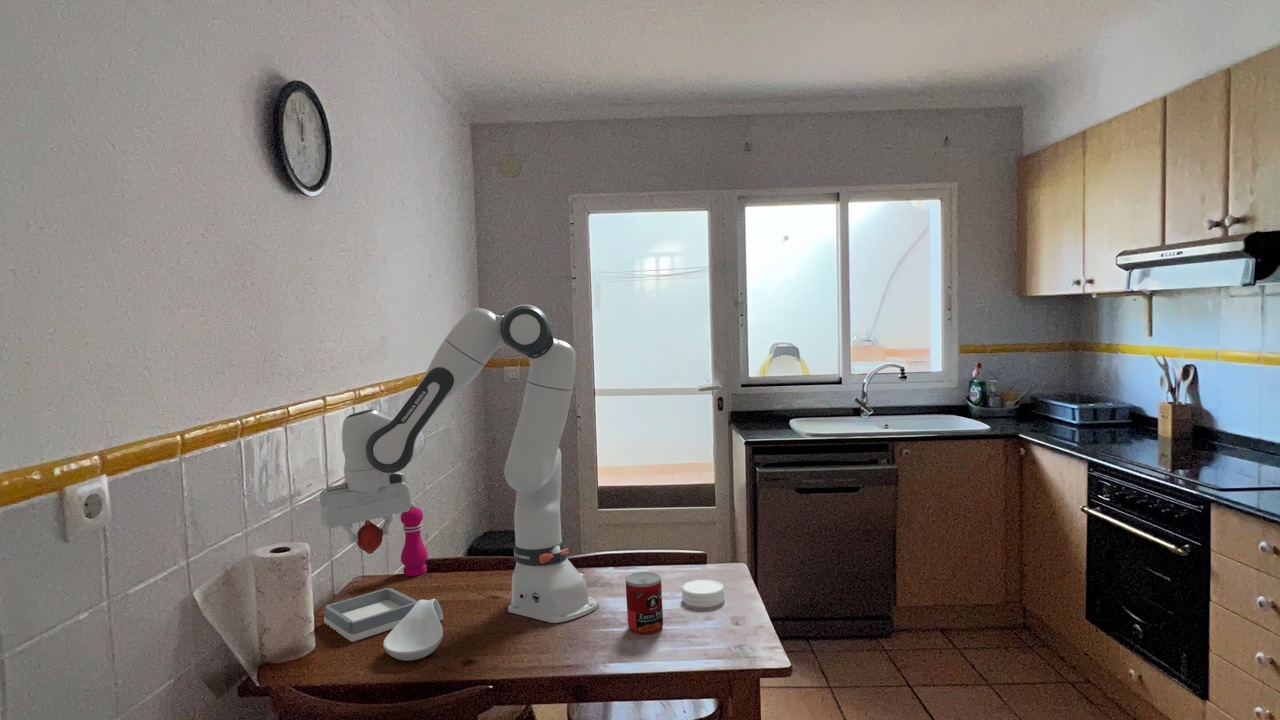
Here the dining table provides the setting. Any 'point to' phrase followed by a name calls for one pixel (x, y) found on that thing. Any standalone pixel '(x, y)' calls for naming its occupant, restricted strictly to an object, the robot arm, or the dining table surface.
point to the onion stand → (368, 613)
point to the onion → (369, 537)
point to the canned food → (644, 603)
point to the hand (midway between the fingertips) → (369, 538)
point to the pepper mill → (413, 543)
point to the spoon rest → (416, 632)
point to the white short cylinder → (703, 593)
